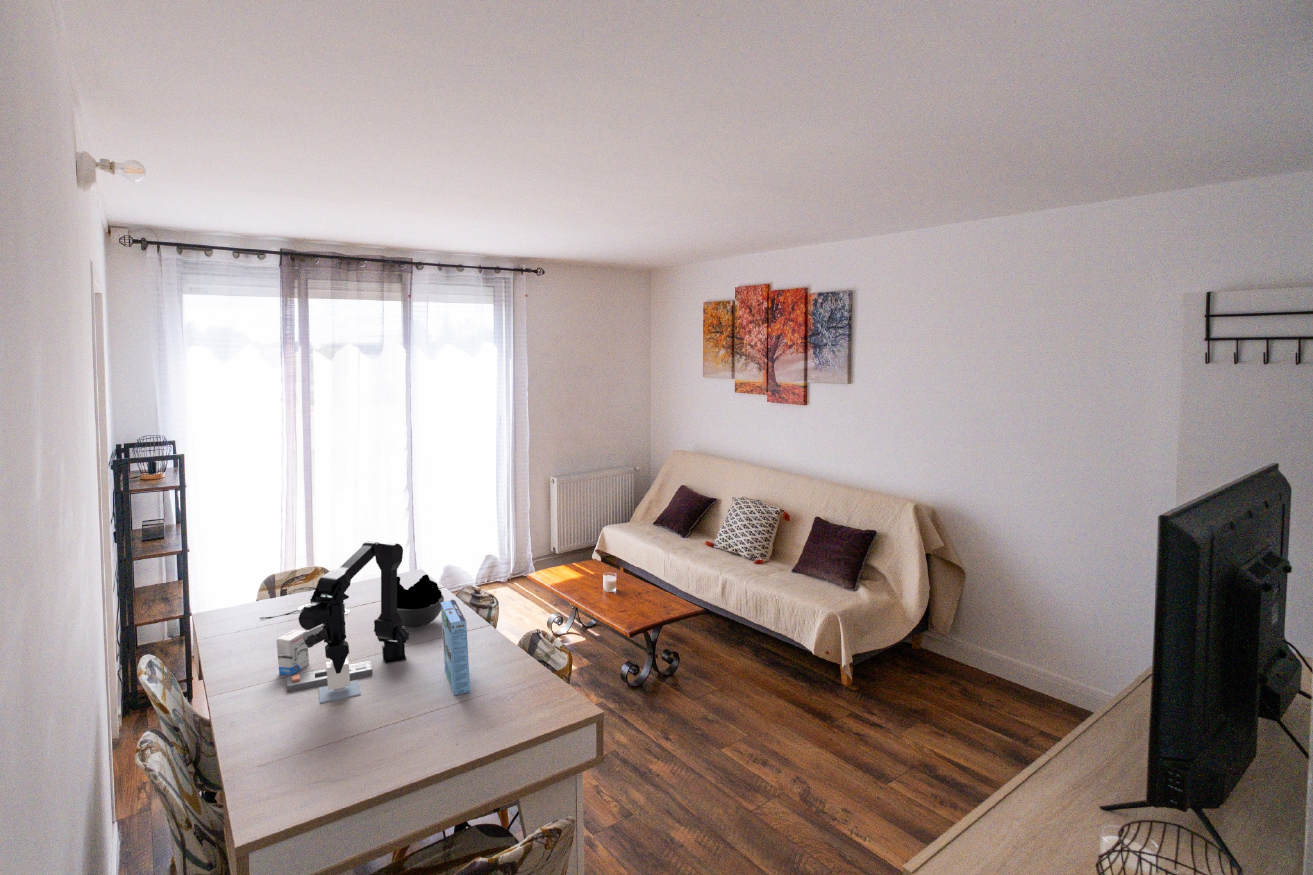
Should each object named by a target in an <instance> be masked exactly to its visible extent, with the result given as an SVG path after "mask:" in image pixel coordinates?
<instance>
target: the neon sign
mask: <svg viewBox="0 0 1313 875" xmlns="http://www.w3.org/2000/svg"><path fill="white" fill-rule="evenodd" d="M312 596H313V595H311V596H309V597H308V599H309V601H310V600H311V598H312ZM321 596H322V597H329V598H330V597H332V596H327V595H321ZM343 601H344V616H345V615H348V614H349V613H350V611H351V610H350V609H348V608H346V603H347V602H346V601H345V600H343ZM313 603H315V602H311V601H310V603H308V604H304V605H301V606H298V607H297V609H296V610H294V611H291V612H287V613H284V614H279V615H275V616H266V617H264V616H263V617H259V619H260V620H261V619H262V620H263V619H272V618H278V617H282V616H287V615H290V614H294V613H296V612H300V613H301V612H302V611H304V608H303V607H304V606H306V605H310V604H313Z"/></svg>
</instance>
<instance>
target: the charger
mask: <svg viewBox="0 0 1313 875" xmlns="http://www.w3.org/2000/svg"><path fill="white" fill-rule="evenodd" d="M349 663H350V662H349V658H348V657H346V660H345V662H344V665H343V667H342V670H341V673H338V674H336V671H335V668H334V665H333V662H332V660H330V661H326V662H325V665H326V667H325V669H327V682H328V684H327V686H328V690H333V689H334V693H337V692H342V691H345V687H347V686H350V681H351V679H350V675H349Z"/></svg>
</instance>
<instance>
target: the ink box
mask: <svg viewBox="0 0 1313 875" xmlns="http://www.w3.org/2000/svg"><path fill="white" fill-rule="evenodd" d="M306 632H308V630H304V629H303V630H300V629H292V630H291V631H289V632H287V633H285V634H283V635H281V636H280V637H277V639H276V650H277V662H278V664H277V665H278V674H279V675H285V676H293V675H296V673H298V672H299V671H301V670H303V669H304V668H305V667H307V666H308V665H309V664H310V658H309V648H308V647H307V645H306V644H305V641H304V639H303V635H304V634H305V633H306Z"/></svg>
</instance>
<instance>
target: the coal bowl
mask: <svg viewBox="0 0 1313 875" xmlns="http://www.w3.org/2000/svg"><path fill="white" fill-rule="evenodd" d="M441 602H445V598H444V595H443V594H442V591H441V589H440V588H439V586H438V583H437V582H435V581H433V580H431V579H430V576H429V575H428V574H423V575H422V576H421V577H420V578H419V579H418V581H417V582H416V583H414V584H413V585H411V586H410V587H408V589H406V588H404V586H403V585H402V584H401V577H400V576H397V613H398V614H399V616H400V618H401V619H402V625H403V628H404V627H405V628H408V629H420V628H424V627H426V626H427V625H429V624H431V623H432V622H434V621H435V619H437V617H438V616H439V614H440V613H441Z"/></svg>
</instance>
